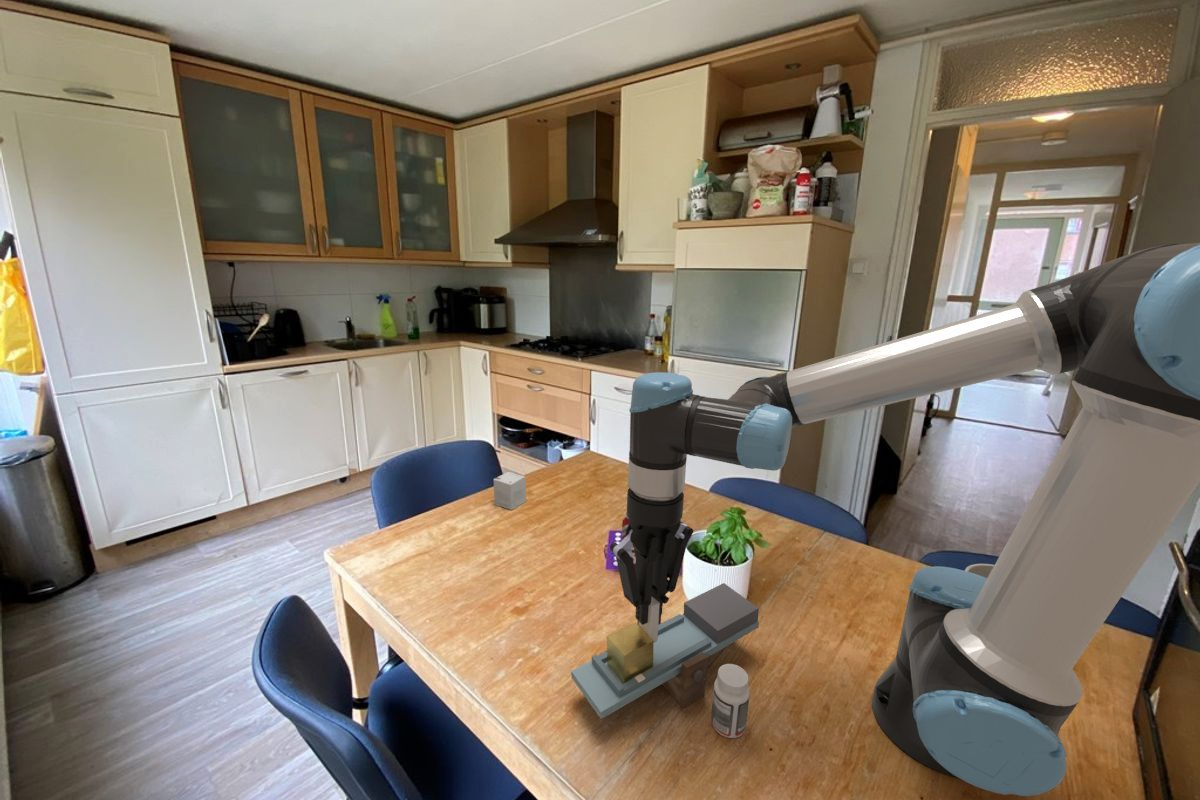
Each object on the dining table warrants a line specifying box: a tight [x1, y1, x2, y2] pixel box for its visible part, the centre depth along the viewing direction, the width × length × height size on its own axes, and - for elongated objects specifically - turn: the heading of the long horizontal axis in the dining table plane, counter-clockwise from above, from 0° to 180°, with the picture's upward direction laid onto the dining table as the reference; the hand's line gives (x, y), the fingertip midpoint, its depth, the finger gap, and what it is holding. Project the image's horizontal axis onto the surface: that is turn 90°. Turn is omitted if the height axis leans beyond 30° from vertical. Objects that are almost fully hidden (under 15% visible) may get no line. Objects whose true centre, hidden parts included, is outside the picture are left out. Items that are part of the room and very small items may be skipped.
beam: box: [570, 582, 760, 720], centre depth 76 cm, size 8×30×4 cm, turn 122°
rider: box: [606, 621, 654, 684], centre depth 71 cm, size 4×5×5 cm
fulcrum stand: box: [636, 616, 709, 709], centre depth 76 cm, size 13×4×7 cm, turn 32°
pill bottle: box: [710, 663, 750, 739], centre depth 68 cm, size 5×5×8 cm
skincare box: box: [493, 471, 527, 511], centre depth 131 cm, size 6×6×7 cm
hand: (647, 637), depth 73 cm, fingers closed
